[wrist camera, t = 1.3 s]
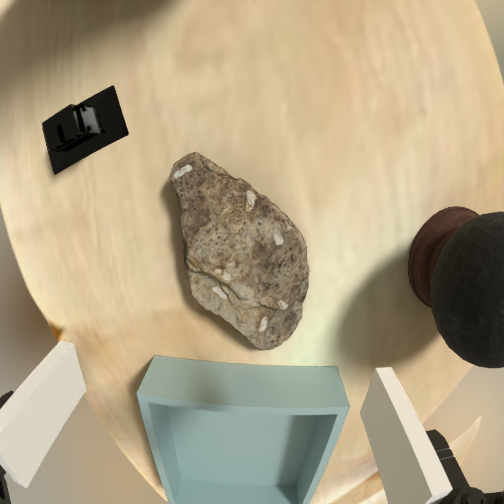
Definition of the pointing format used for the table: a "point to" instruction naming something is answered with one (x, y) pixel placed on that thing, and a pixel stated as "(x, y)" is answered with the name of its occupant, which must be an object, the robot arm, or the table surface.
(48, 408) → the robot arm
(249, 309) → the rock
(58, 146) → the build plate
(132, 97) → the table surface
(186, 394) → the storage tub
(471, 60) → the table surface
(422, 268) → the black globe on stand
